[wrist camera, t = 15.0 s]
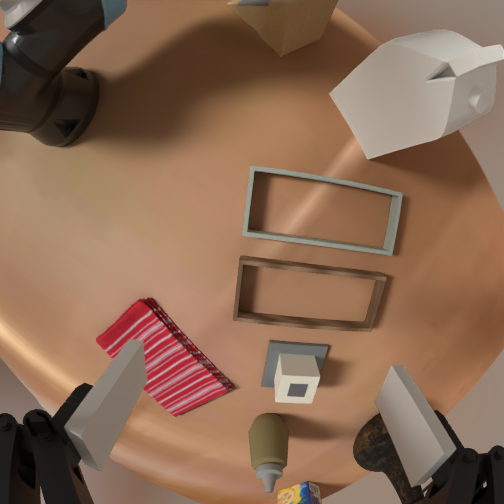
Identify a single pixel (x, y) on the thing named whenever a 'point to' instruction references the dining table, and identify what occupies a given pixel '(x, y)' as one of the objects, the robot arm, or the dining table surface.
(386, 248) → the grey frame
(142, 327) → the dish towel
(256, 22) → the sandwich container
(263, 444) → the squeeze bottle
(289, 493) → the beverage box
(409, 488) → the glass bottle
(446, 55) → the milk
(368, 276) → the walnut frame
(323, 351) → the slate tile
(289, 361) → the cream cube
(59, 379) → the dining table surface
